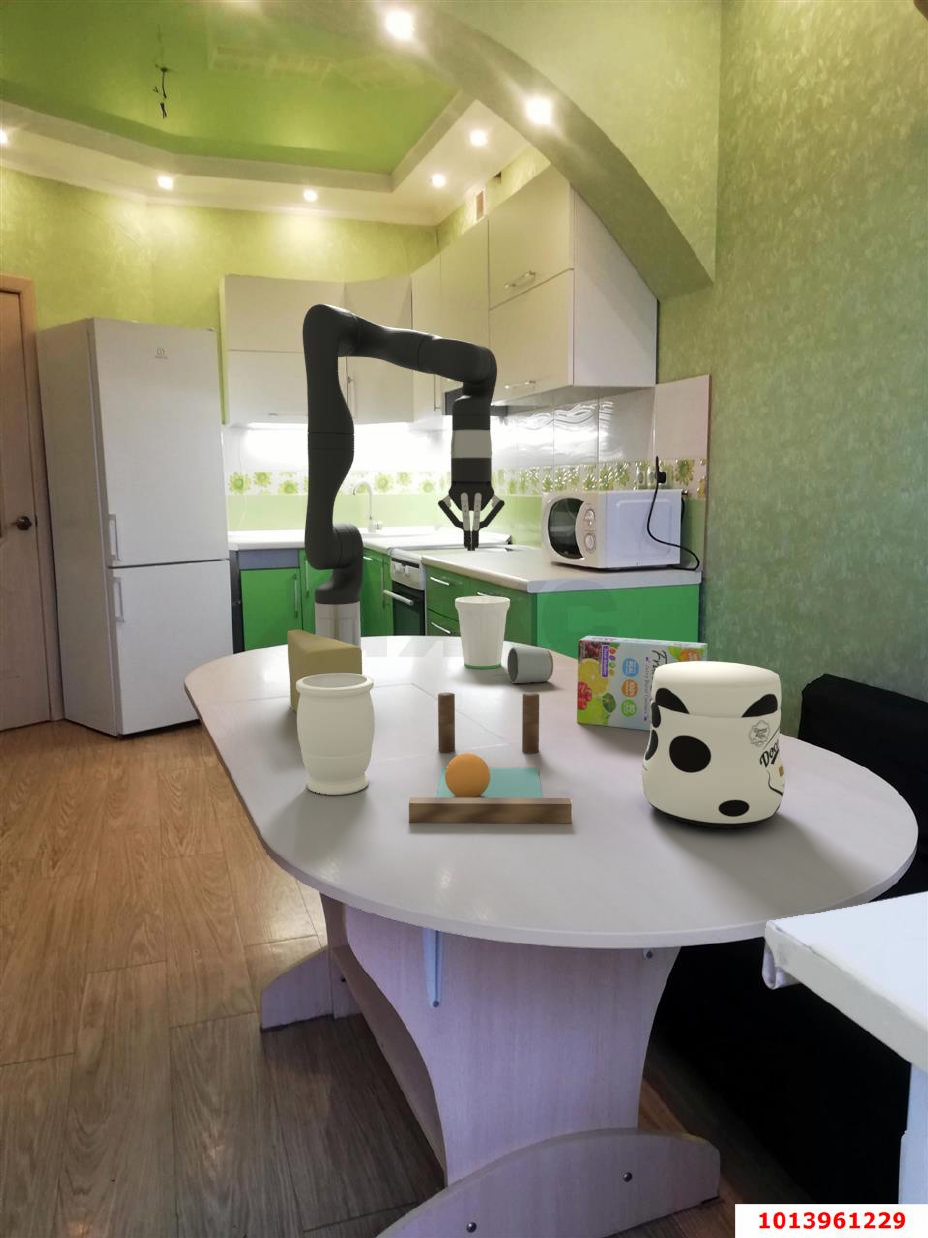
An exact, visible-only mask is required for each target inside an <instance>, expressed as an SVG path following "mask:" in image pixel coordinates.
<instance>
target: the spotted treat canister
mask: <svg viewBox="0 0 928 1238" xmlns="http://www.w3.org/2000/svg"><path fill="white" fill-rule="evenodd" d="M651 695H652V701H651V730H650V731H649V732H650V734H649V738H648V744H647V747H646V750H645V752H644V755H643V759H642V764H641V765H642V766H641V782H642V788H643V789H642V790H643V793H644V796H645V798H646V800H647V802H648V803H649V804H650V806H651V807H652V808H653V809H654V810H656V811H657V812H659V813H661V814H663V815H665V816H666V817H668V818H671V819H674V820H676V821H680V822H683V823H686V824H691V825H696V826H703V827H709V828H728V829H729V828H741V827H750V826H754V825H756V824H760V823H763V822H766V821H768V820H770V819H771V818H772V817H773V816H774V815H775V814H777V812H778V811H779V809H780V807H781V805H782V801H783V797H784V792H785V785H786V784H785V783H786V779H785V777H786V776H785V770H784V765H783V761H782V757H781V752H780V751H781V750H780V730H781V729H780V727H781V718H782V711H781V707H782V697H783V696H782V695H783V694H782V683H781V678H780V675H779V674H778V673H776V672H775V671H773V670H770V669H767V668H763V667H759V666H755V665H749V664H743V663H738V662H737V663H736V662H726V661H724V662H723V661H709V660H707V661H692V662H677V663H671V664H665V665H662V666H660V667H657V668H656V670H655V672H654V676H653V682H652V692H651Z"/></svg>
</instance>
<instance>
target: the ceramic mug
mask: <svg viewBox="0 0 928 1238" xmlns="http://www.w3.org/2000/svg"><path fill="white" fill-rule="evenodd" d="M506 661H507V662H506V663H507V665H506V667H507V669H506V670H507V675H508V678H509V681H510V682H511V683H512V684H513V683H515V685H517V684H516V683H520V684H532V683H531V682H534V683H543V682H547V681H549V680H550V679H551V678H552V676H553V671H554V658H553V655H552V654H551V651H550V650H549V649H547V648H543V647H527V646H526V647H524V646H523V647H521V646H513V647H511V648H510V649H509V652H508V655H507V660H506Z"/></svg>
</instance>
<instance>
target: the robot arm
mask: <svg viewBox="0 0 928 1238" xmlns="http://www.w3.org/2000/svg"><path fill="white" fill-rule="evenodd" d="M302 347H303V354H304V357H303V358H304V364H305V373H306V375H305V376H306V390H307V391H306V394H307V462H308V463H307V465H308V469H307V473H308V475H307V477H308V478H307V479H308V481H307V485H308V486H307V501H306V503H307V505H306V514H305V527H304V538H303V539H304V540H303V541H304V545H303V546H304V554H305V557H306V560H307V563H308V565H309V566H311V568H312V569H313V570H315V571H316V570H317V571H327V570H332V573H331V575H330V577H329V578H328V579H327V580H326V582H323V583H322V584H321V585H319V586H318V587H316V588H315V590H314V613H315V617H314V618H315V619H314V620H315V635H318V636H321V637H325V638H329V639H334V640H338V641H341V642H344V643H348V644H351V645H355V646H358V647H360V648H361V649H362V643H361V641H362V639H361V638H362V637H361V634H362V633H361V601H360V599H361V597H360V596H361V592H362V589H363V583H364V582H363V581H364V579H363V578H364V542H363V537H362V534H361V531H360V530H359V529H358V527H357V526H355V525H354V524H351V523H348V522H347V523H346V522H345V523H343V522H342V523H334V510H335V509H334V507H335V502H336V498H337V495H338V493H339V490H340V489H341V488H342V486H343V483H344V482H345V479H346V477H347V476H348V474H349V471H350V470H351V468H352V465H353V463H354V459H355V458H354V457H355V424H354V420H353V417H352V413H351V410H350V408H349V405H348V404H347V401H346V398H345V396H344V393H343V390H342V388H341V382H340V375H339V358H344V357H347V358H349V357H354V358H355V357H357V358H358V357H359V358H372V359H378V360H381V361H384V362H387V363H390V364H392V365H395V366H398V367H401V368H403V369H407V370H411V371H416V372H419V373H425V374H429V375H435V376H439V377H442V378H445V379H449V380H451V381H456V382H460V383H462V387H461V388H462V389H461V395H460V398H457V399H455V400H454V401H453V403H452V408H451V409H452V411H451V418H452V419H451V425H452V426H451V427H452V428H451V431H452V432H451V441H450V487H449V489H448V491H447V493H448V494H447V495H445V496H444V498H442V499H440V500H438V501H437V505H438V507H439V508H440V509H441V511H442V512H443V513H444V514H445V516H446V517H447V518H448V519H449V521H450V522H451V523H452V524H453V526H454V527H455V528H459V529H461V530H462V531H463V532H462V533H463V546H464V548H465V549H467V551H466V552H475V551H476V548H477V549H478V548H479V545H480V531H481V529H482V530H483V528H487V527H488V526H489V525H491V523H492V522H493V520H495V518H496V517H497V515H498V514H499V513H500V511H501V510H502V509H503V508H504V506H505V504H506V503H505V500H503V499H501V498H499V497H498V496H497V495H496V494H495V490H494V487H493V483H492V479H493V477H492V475H493V474H492V471H493V470H492V469H493V464H492V463H493V462H492V461H493V442H492V436H491V418H492V417H491V415H492V414H491V405H492V402H493V399H494V393H495V388H496V383H497V379H498V378H497V376H498V365H497V359H496V357H495V354H494V352H493V351H492V350H491V349H490V348H488V347H487V346H484V345H481V344H479V343H478V344H477V343H474V342H470V341H467V340H460V339H454V338H448V337H442V336H440V335H437V334H432V333H428V332H424V331H418V330H415V329H410V328H409V329H407V328H398V327H397V328H396V327H389V326H386V325H385V326H384V325H382V324H378V323H375V322H373V321H370V320H368V319H367V318H363V317H361V316H360V315H357V314H355V313H353V312H351V311H350V310H348V309H345V308H342V307H338V306H334V305H331V304H325V303H317V304H314V305H312V306H311V307H310V308H309V309H308V311H307V312H306V314H305V316H304V318H303V323H302ZM491 500H492V502H491ZM451 501H452V502H453V503H454V505H455V506H456V508H457V509H458V510H459V511H461V514H462V520H460V519H459V518H458V517H457V516H456V514H455V513H454V511H453V510H452V509H451V507H452V502H451ZM490 502H491V507H492V509H491V510H490V512H489V513H488V514H487V515H486V517H485V518H484V519H483V520H482V521H481V512H483V511H484V510H485V509H486V507H487V506H488V504H489V503H490ZM470 512H473V519H472V528H471V522H470V521H471V519H470V517H471V516H470ZM471 529H472V530H471Z"/></svg>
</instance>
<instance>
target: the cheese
mask: <svg viewBox="0 0 928 1238" xmlns="http://www.w3.org/2000/svg"><path fill="white" fill-rule="evenodd" d="M286 635H287V659H288V660H287V661H288V673H289V691H290V692H289V695H290V698H289V699H290V708H291V709H292V708H293V709H294V710H295V711H296V712H295V711H294V710H293V711H294V712H295V713H296V714H297V709H298V702H299V698H300V693H299V692H298V691H297V689H296V682H297V681H298V680H300V679H302V678H305V677H308V676H313V675H320V674H331V673H350V674H360V675H363V653H362V647H361V648H360V647H358V646H355V645H351V644H348V643H344V642H341V641H338V640H334V639H329V638H325V637H321V636H318V635H316V633H315V634H314V633H312V632H309V631H305V630H302V629H291V630H288V631H287V634H286Z"/></svg>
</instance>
